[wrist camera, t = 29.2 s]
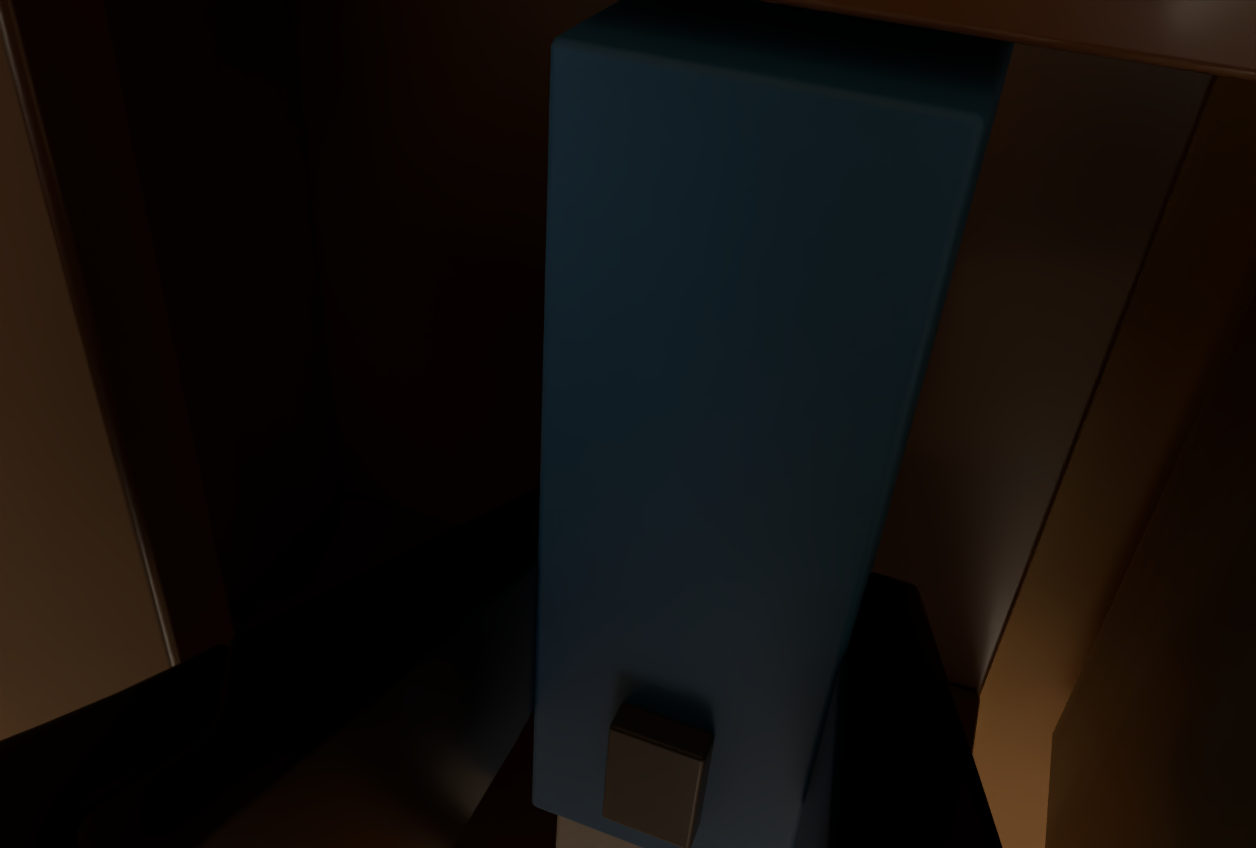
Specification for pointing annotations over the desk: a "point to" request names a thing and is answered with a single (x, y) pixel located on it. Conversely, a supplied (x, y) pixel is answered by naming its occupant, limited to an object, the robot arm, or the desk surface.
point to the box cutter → (729, 390)
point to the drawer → (514, 335)
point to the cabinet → (88, 392)
